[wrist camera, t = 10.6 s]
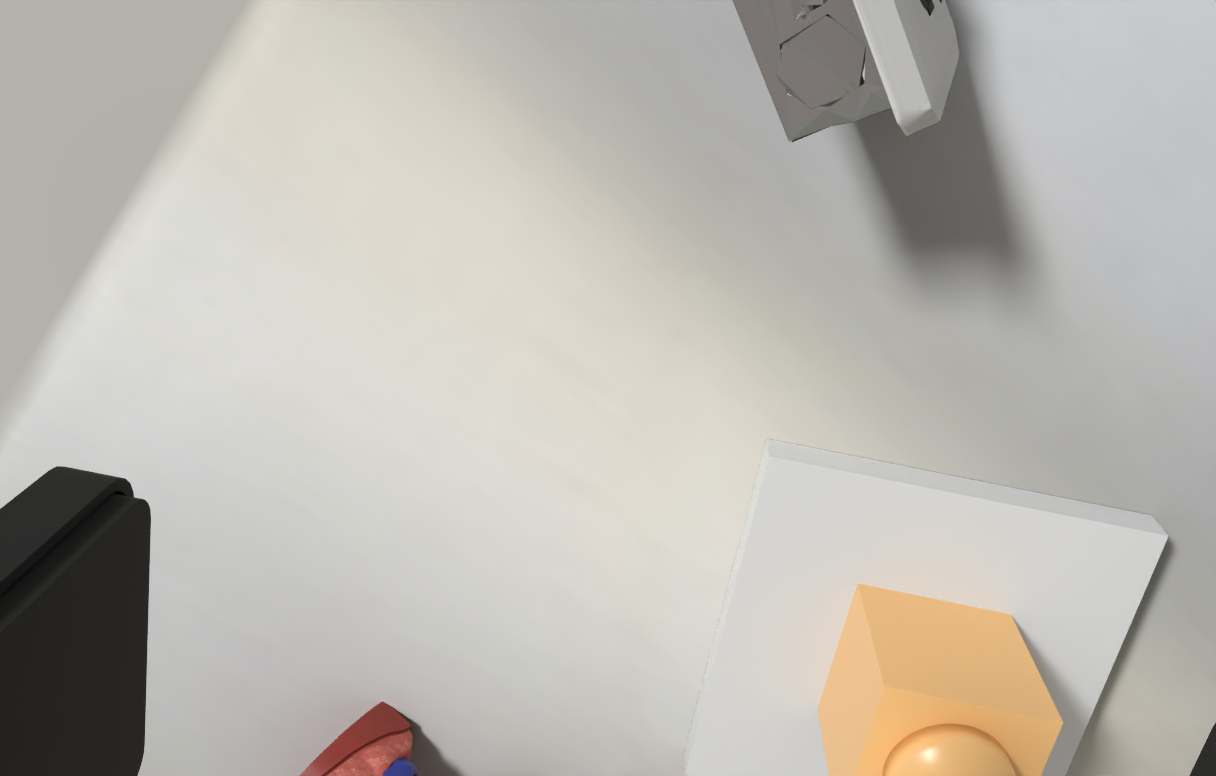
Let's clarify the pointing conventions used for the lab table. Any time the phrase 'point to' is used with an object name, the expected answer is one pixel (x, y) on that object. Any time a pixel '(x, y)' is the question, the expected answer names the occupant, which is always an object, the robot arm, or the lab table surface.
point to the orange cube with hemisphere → (933, 692)
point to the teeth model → (369, 748)
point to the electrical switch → (853, 60)
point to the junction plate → (910, 563)
